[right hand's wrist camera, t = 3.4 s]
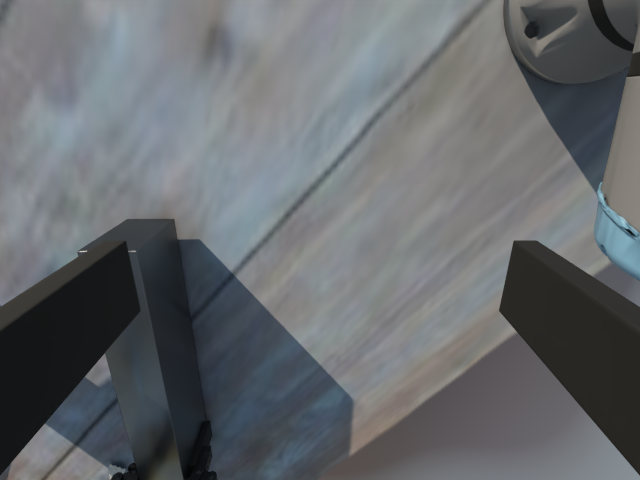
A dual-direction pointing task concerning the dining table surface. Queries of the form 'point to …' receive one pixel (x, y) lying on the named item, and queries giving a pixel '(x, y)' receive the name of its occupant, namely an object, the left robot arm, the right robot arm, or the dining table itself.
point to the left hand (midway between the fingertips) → (187, 428)
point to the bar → (157, 355)
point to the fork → (115, 470)
